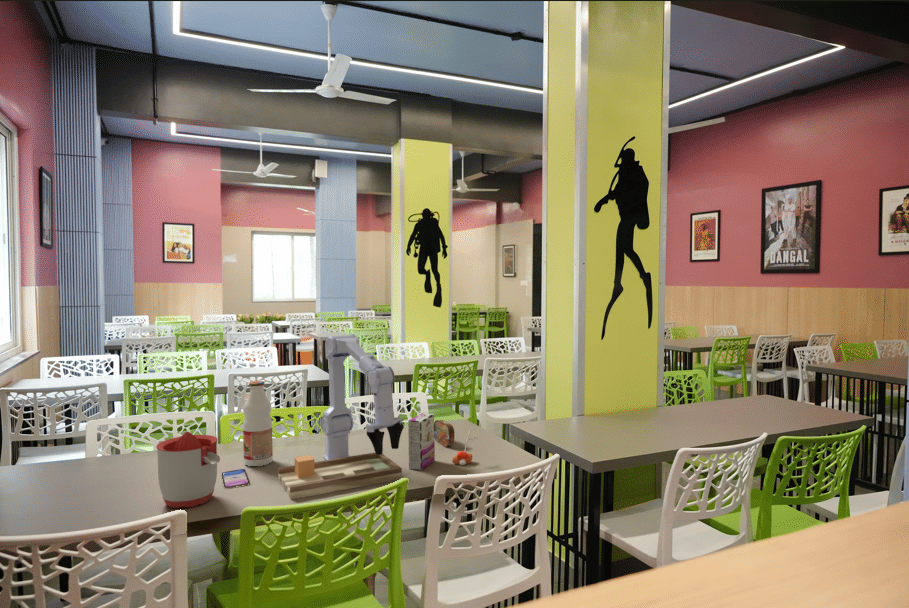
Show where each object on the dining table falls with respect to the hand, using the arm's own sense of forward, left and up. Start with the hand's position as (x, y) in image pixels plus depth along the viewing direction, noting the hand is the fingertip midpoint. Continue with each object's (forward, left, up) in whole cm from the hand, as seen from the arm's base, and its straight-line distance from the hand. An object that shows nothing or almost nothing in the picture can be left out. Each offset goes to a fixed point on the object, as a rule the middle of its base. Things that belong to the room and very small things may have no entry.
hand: (387, 451), depth 169 cm
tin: (-29, +34, -10) cm, 46 cm away
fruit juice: (-40, -32, -10) cm, 52 cm away
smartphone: (-27, -41, -10) cm, 50 cm away
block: (-15, -22, -8) cm, 28 cm away
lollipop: (-5, +30, -10) cm, 32 cm away
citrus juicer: (-14, -54, -10) cm, 56 cm away
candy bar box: (-10, +16, -10) cm, 22 cm away
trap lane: (-11, -12, -10) cm, 19 cm away
